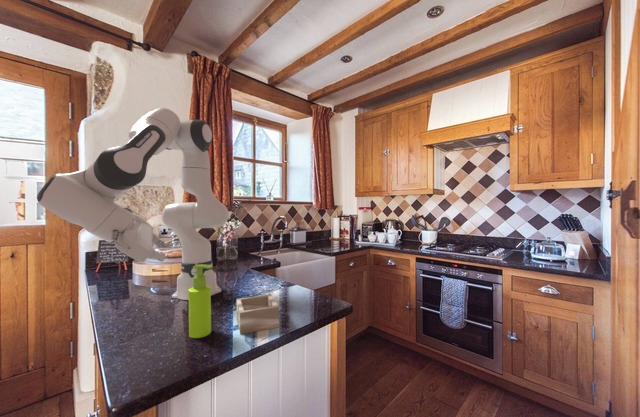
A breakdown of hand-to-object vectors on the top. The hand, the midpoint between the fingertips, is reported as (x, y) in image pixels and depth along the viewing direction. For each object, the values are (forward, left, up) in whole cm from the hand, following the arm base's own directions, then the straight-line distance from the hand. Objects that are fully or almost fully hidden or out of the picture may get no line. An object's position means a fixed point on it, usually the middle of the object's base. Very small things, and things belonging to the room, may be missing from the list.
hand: (163, 251), depth 76 cm
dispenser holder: (+3, +26, -24) cm, 35 cm away
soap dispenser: (+4, +10, -24) cm, 26 cm away
